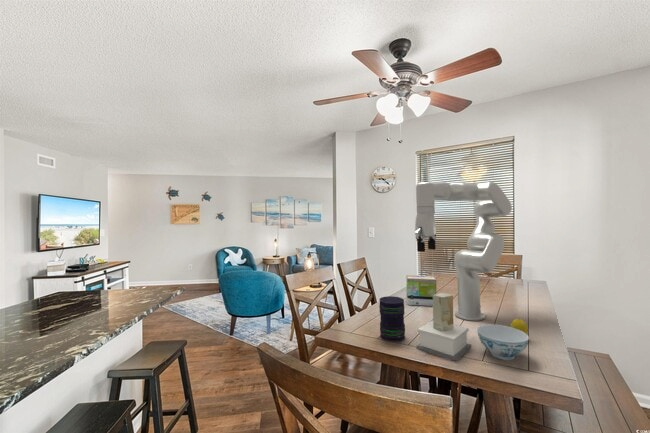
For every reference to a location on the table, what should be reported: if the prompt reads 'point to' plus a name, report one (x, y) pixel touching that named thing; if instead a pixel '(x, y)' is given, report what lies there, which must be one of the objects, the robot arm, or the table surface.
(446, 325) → the skincare box
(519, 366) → the table surface
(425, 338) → the display podium
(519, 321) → the lemon
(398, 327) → the dark blue barrel
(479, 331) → the chinaware
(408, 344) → the table surface
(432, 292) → the tea box
